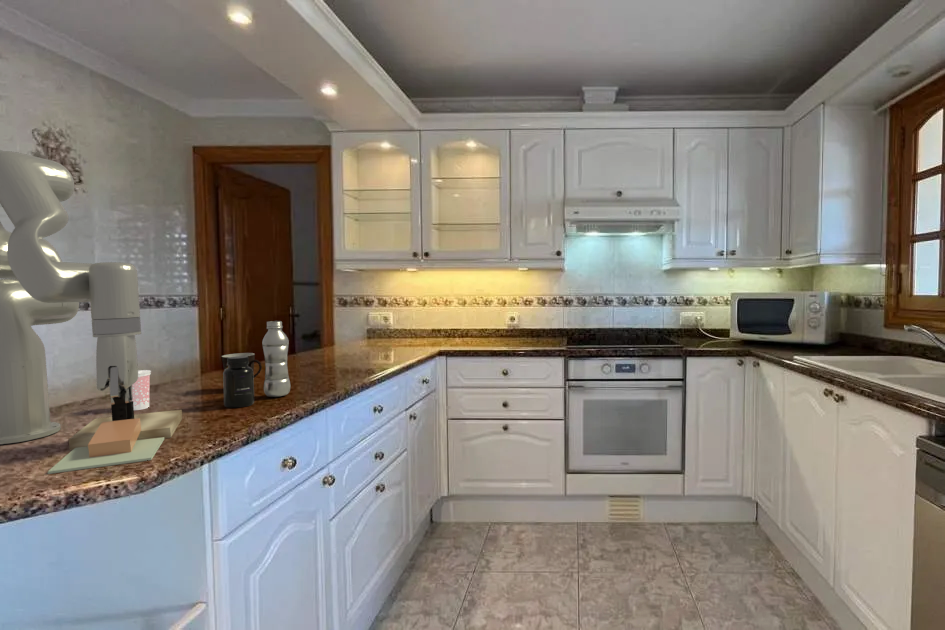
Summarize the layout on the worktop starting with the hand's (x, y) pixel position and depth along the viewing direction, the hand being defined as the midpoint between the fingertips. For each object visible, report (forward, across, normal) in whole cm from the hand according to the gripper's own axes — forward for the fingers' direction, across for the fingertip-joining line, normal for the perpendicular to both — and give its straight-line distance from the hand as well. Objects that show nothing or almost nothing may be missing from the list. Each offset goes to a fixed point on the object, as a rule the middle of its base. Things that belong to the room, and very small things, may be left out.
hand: (123, 423), depth 95 cm
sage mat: (+4, +9, 0) cm, 9 cm away
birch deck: (+4, -6, 0) cm, 7 cm away
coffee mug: (+4, -42, +20) cm, 47 cm away
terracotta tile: (+2, +6, 0) cm, 6 cm away
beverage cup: (+4, -31, -3) cm, 32 cm away
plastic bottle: (+4, -28, +29) cm, 40 cm away
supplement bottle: (+4, -22, +20) cm, 30 cm away
